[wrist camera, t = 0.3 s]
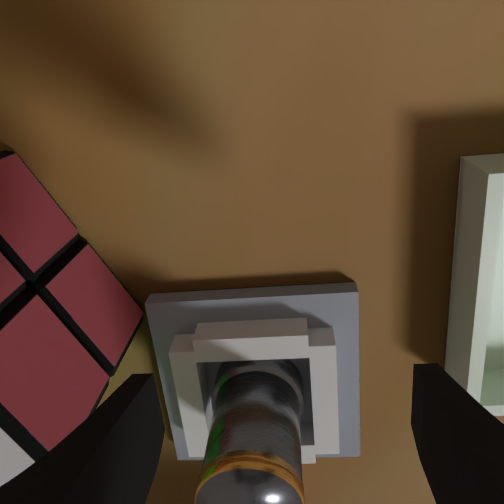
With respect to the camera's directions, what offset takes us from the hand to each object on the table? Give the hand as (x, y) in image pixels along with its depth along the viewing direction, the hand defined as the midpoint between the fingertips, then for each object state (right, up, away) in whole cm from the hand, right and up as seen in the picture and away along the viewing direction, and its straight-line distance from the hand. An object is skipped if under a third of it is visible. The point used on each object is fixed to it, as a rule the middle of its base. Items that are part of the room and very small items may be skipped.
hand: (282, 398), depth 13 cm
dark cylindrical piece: (-1, -3, +11) cm, 11 cm away
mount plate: (0, -2, +12) cm, 12 cm away
